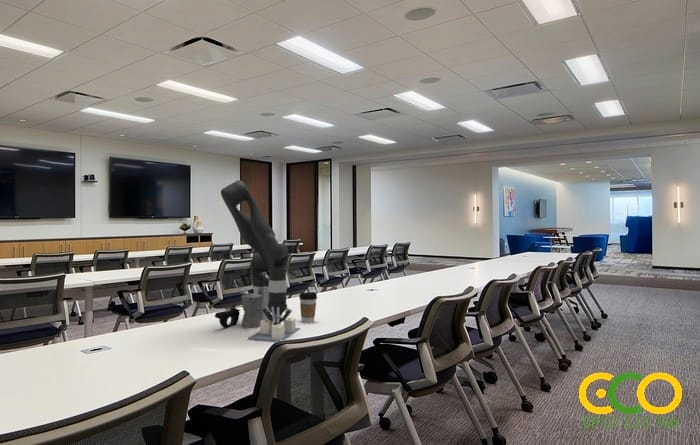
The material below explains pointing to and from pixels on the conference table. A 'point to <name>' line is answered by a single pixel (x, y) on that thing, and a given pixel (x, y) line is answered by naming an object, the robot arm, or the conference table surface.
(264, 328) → the cream white block
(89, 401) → the conference table surface
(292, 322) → the white studded block
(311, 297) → the coffee cup
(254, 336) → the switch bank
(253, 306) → the coffeepot
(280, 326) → the white toy brick
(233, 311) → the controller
